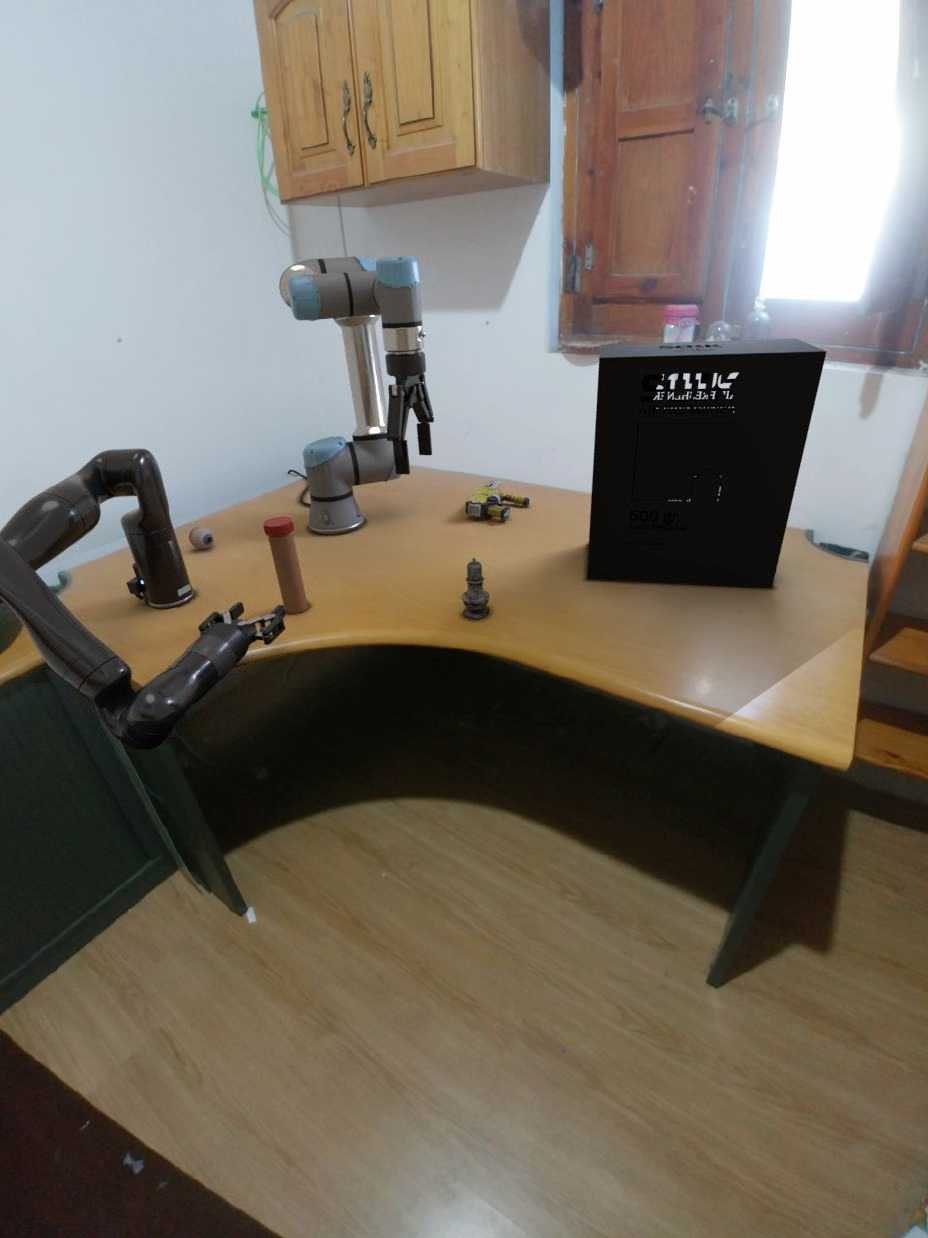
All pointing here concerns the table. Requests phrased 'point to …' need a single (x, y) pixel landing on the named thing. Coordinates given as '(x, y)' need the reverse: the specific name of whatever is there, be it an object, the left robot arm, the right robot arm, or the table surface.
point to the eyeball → (201, 537)
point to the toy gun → (492, 502)
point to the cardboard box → (698, 459)
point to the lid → (278, 526)
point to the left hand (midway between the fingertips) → (262, 607)
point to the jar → (288, 573)
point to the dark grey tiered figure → (475, 592)
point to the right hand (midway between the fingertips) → (414, 463)
